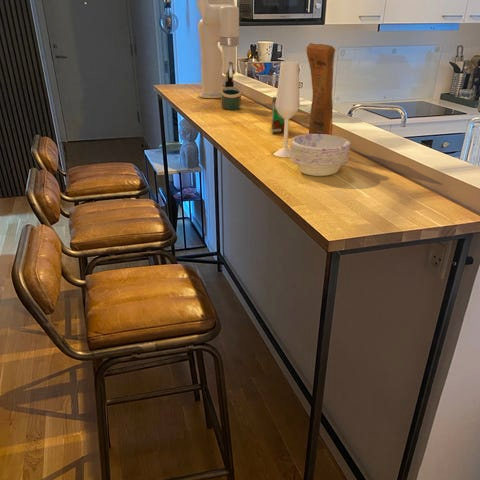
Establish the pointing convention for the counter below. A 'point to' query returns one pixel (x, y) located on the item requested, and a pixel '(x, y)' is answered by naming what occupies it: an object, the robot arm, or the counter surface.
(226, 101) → the teal cup
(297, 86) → the champagne flute
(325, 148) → the paper bowls
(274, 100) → the food container
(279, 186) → the counter surface
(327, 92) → the pancake mix bag
